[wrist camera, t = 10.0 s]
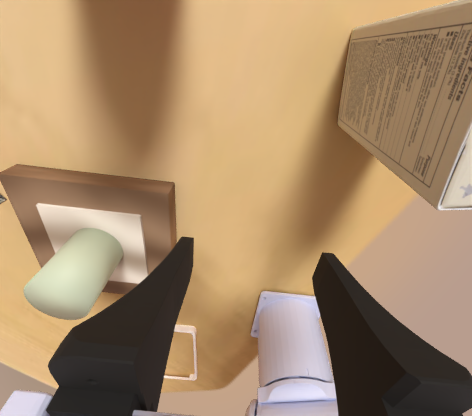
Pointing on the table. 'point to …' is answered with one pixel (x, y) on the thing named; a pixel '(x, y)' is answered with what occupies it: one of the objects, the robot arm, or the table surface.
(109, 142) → the table surface
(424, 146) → the skincare box
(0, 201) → the eiffel tower figurine
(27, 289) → the sage cylinder
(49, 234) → the walnut base
